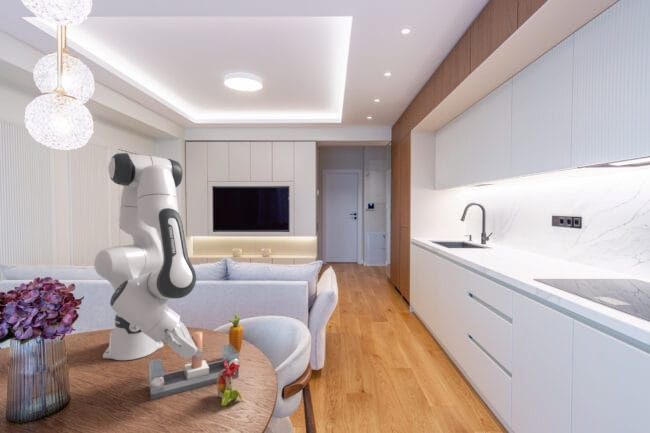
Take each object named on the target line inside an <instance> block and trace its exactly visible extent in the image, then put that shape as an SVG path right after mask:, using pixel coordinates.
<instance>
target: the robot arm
mask: <svg viewBox="0 0 650 433" xmlns="http://www.w3.org/2000/svg"><path fill="white" fill-rule="evenodd" d="M107 168H108V169H107V171H108V175H109V178H110V180H111V181H112V182H113V183H114V184H116V185H119V186H123V188H122V190H121V191H122V192H121V197H120V209H119V210H120V211H119V227H120V229H121V230H122V231H123V232H124V233H126V234H128V235H130V236H131V237H132V240H133V244H126V245H116V246H111V247H109V248H105V249H101V250H100V251H99V252H98V253H97V254H96V256H95V258H94V261H93V267H94V271H95V272H96V273H97V275H99V276H100V277H101V278H103V279H105V280H106V281H107V282H109V284H110V285H111V286H112V287H113V289H114V292H113V294H112V296H111V298H110V302H109V303H110V304H109V305H110V307H111V308H112V310H113V311H114V312H115V313H116V314H115V318H114V326H115V328H114V329H113V330H112V331H111V332H110V333H109V335H108V336H109V337H108V338H109V343H108V347H107V348H106V349H105V351H104V352H103V354H102V359H112V360H115V361H131V360H136V359H141V358H144V357H146V356H147V357H148V356H149V355H151V354H153V353H154V352H155V351H157V350H160V349H161V348H163V347H164V346H165V345H164V342H166V343H167V345H168V346H169V347H170V348H171V349H172V350H173V351H174V352H176V353H177V354H178V355H179V356H181V357H182V358H183V359H184V360H188V361H189V360H190V359H191V360H192V356H193V355H196V356H197V357H200V356H201V355H202V356H203V354H204V353H203V349H202V350H200V349H199V348H197V347H196V345H195V343H194V342H193V340H192V335H191V334H190V332H189V330H188V328H187V326H186V325H185V324H184V323H183V322H182V321H181V320H180V319H181V316H180V315H179V314H178V313H177V312H175V311H174V310H173V309H172V308H171V307H169V306H168V305H167V302H168V301H169V300H171V299H181V298H184V297H186V296H188V295H190V293H191V292H192V291H193V290H194V288H195V285H196V283H197V275H196V270H195V269H194V266H193V265H192V262H191V261H190V258H189V255H188V248H187V243H186V238H185V236H186V235H185V230H184V226H183V221H182V217H181V215H180V212H179V206H178V194H177V187H178V186H180V184H182V180H183V168H182V165H181V164H180V162H178V161H177V160H174V159H171V158H164V157H160V156H154V155H145V154H133V153H132V154H129V153H128V152H120V153H118V152H117V153H115V154H114V155H112V157H111V159H110V161H109V163H108V167H107ZM158 233H159V235H158ZM140 275H141V276H140Z"/></svg>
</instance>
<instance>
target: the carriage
mask: <svg viewBox="0 0 650 433" xmlns="http://www.w3.org/2000/svg"><path fill="white" fill-rule="evenodd" d="M203 335H204V334H203V331H201V330H200V331H199V330H198V331H194V332H192V333H191V338H192V340H193V342H194V343H195V345H196V347H197V348H199V349H200V350H202V351H203ZM207 364H208V363H207V361H206V360H205V359H204V360H203V354H202V355H201V356H200V357H197V356H196V355H193V356H192V358H191V362H190V363H187V364H184V368H183V369H184V374H185V377H186V379H187V380H189V379H193V378H197V377H201V376H205V375H209V366H208V365H207Z"/></svg>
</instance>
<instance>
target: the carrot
mask: <svg viewBox="0 0 650 433" xmlns="http://www.w3.org/2000/svg"><path fill="white" fill-rule="evenodd" d="M234 318H235V319H234V320H232V319H229V320H228V322H230V323H231V324H232V325H231V326H230V327H229V330H228V342H229V344H232V345H233V346H234V348H235V349H236V350H237V351H238V353H239V354H240V352H241V349H242V344H243V335H244V326H243V325H240V324H239V323H240V321H241V317H240V316H238V314H234ZM229 344H228V345H229Z"/></svg>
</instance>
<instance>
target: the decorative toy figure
mask: <svg viewBox="0 0 650 433" xmlns="http://www.w3.org/2000/svg"><path fill="white" fill-rule="evenodd" d="M223 365H224V366H225V367H226V369H224V370H221V371H220V372H219V374H218V378H217V383H216V388H217V397H219V398H221V406H223V407H225V408H226V407H227V405H228V403H229V401H230V400H237V399H238V398H239V400H242V399H243V397H242V394H241V392H240V391H239V390H238V389H233V379H232V376H234V377H235V376H236V374H235V371H236V370H237V369H238V368H240V367H241V364H239V365H236V364H235V362H232V363H231V364H230V366H228V364H227V362H226V360H225V361H224V363H223Z"/></svg>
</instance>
